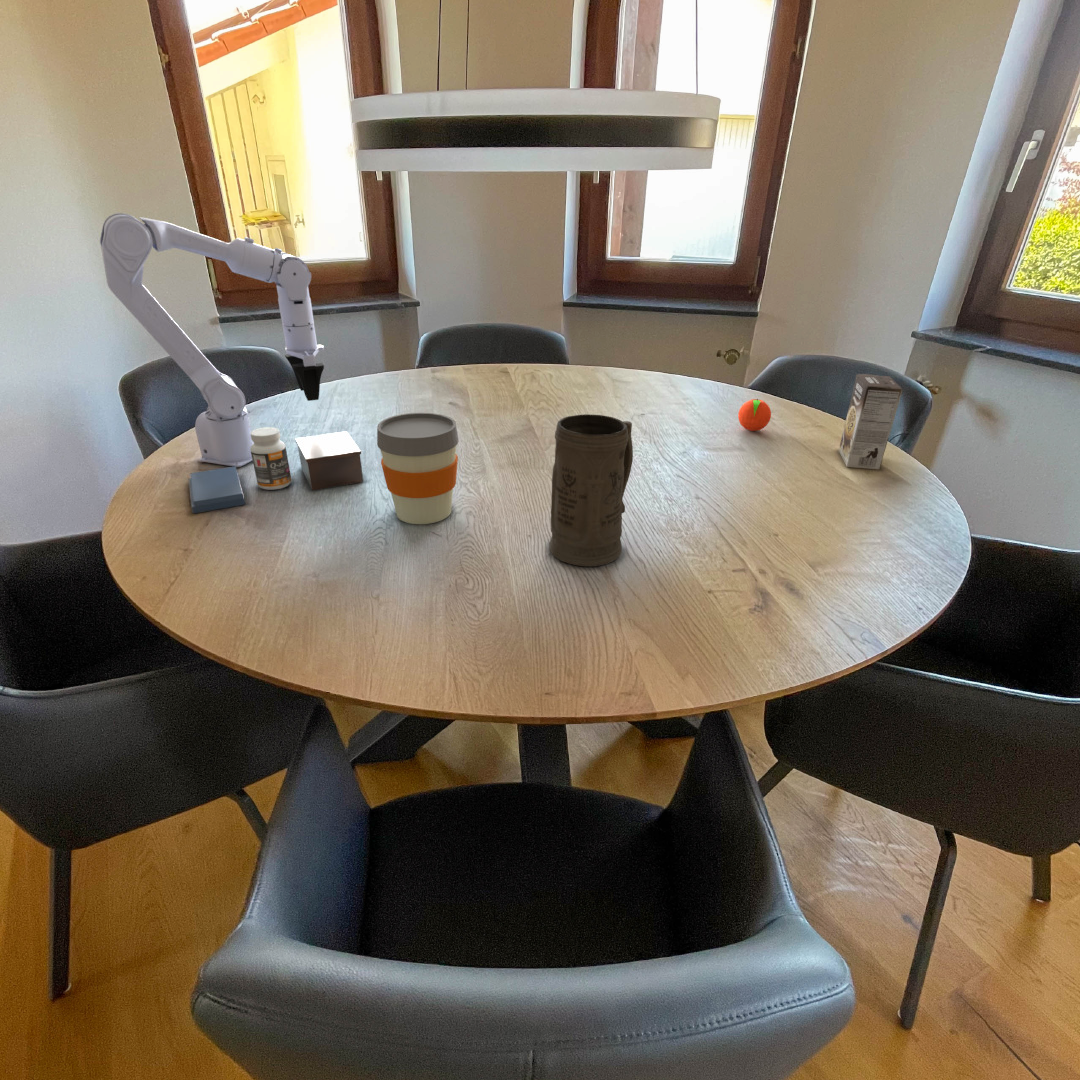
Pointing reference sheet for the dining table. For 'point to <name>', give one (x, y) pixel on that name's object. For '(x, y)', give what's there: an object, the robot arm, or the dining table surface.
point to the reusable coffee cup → (419, 464)
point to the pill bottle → (270, 459)
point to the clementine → (754, 415)
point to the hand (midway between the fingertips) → (309, 394)
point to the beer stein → (589, 488)
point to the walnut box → (330, 460)
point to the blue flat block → (215, 489)
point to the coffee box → (869, 420)
